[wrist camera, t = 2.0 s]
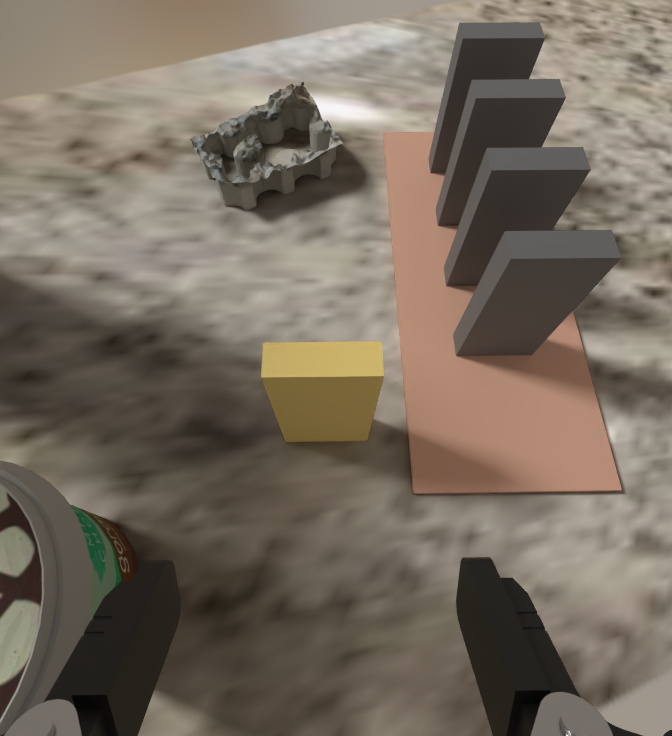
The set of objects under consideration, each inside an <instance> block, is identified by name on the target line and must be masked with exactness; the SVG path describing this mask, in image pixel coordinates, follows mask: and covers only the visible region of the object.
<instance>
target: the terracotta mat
mask: <svg viewBox="0 0 672 736" xmlns="http://www.w3.org/2000/svg"><path fill="white" fill-rule="evenodd" d="M433 136H434V132H385V133H384V135H383V139H384V151H385V163H386V175H387V187H388V199H389V211H390V224H391V236H392V248H393V260H394V272H395V284H396V296H397V308H398V320H399V332H400V344H401V356H402V368H403V380H404V392H405V404H406V416H407V428H408V440H409V452H410V464H411V476H412V488H413V494H447V493H521V492H594V491H620V490H622V488H621V485H620V481H619V478H618V474H617V470H616V467H615V463H614V459H613V456H612V452H611V448H610V445H609V441H608V437H607V434H606V430H605V426H604V423H603V419H602V416H601V412H600V408H599V405H598V401H597V397H596V394H595V390H594V386H593V383H592V379H591V375H590V372H589V368H588V364H587V361H586V357H585V354H584V350H583V346H582V343H581V339H580V335H579V332H578V328H577V324H576V321H575V317H574V313H573V311H572V312H571V313H570V314H569V315H568V316H567V317H566V319H565V320H564V321H563V322H562V323H561V324H560V325H559V326H558V327H557V328H556V329H555V331H554V332H553V333H552V334H551V335H550V336H549V337H548V338H547V339H546V340H545V341H544V342H543V344H542V345H541V346H540V347H539V348H538V349H537V350H536V351H535V352H534V353H533V354H532V355H508V356H456V353H455V346H454V339H453V333H454V331H455V329H456V327H457V325H458V324H459V322H460V320H461V318H462V316H463V314H464V312H465V310H466V308H467V306H468V304H469V302H470V300H471V298H472V296H473V294H474V292H475V290H476V288H477V286H446V282H445V275H444V265H445V262H446V260H447V257H448V254H449V251H450V248H451V246H452V243H453V240H454V237H455V235H456V232H457V229H458V226H438V224H437V217H436V206H437V202H438V199H439V195H440V192H441V188H442V184H443V181H444V177H445V174H446V173H430V167H429V160H428V158H429V154H430V149H431V145H432V141H433Z"/></svg>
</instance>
